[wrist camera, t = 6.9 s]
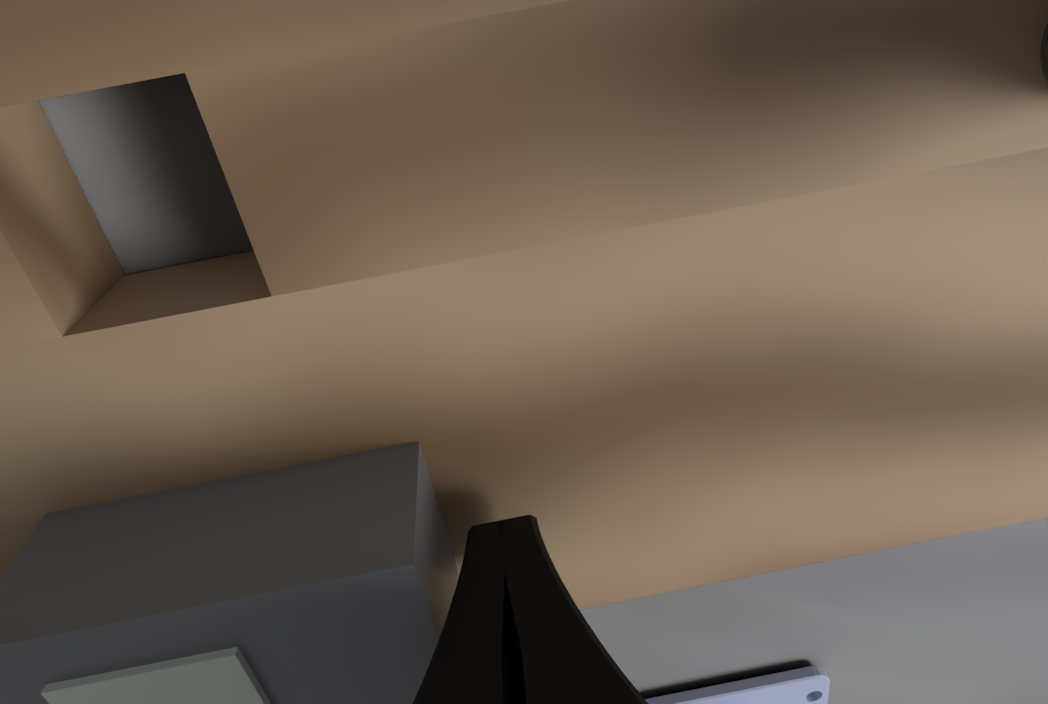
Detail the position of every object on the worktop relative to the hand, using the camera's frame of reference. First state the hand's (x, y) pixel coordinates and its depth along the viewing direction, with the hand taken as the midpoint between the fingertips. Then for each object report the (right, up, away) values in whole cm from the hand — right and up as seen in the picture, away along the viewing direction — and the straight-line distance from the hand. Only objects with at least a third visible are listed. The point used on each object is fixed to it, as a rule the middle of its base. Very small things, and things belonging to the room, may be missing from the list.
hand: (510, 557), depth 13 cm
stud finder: (-5, 0, +1) cm, 5 cm away
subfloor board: (0, +5, +1) cm, 5 cm away
